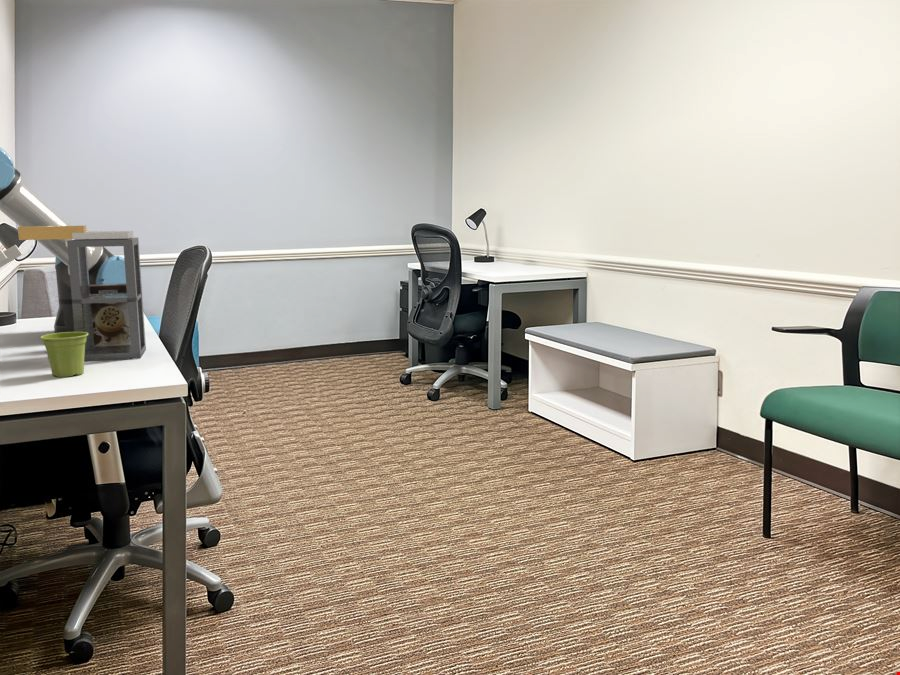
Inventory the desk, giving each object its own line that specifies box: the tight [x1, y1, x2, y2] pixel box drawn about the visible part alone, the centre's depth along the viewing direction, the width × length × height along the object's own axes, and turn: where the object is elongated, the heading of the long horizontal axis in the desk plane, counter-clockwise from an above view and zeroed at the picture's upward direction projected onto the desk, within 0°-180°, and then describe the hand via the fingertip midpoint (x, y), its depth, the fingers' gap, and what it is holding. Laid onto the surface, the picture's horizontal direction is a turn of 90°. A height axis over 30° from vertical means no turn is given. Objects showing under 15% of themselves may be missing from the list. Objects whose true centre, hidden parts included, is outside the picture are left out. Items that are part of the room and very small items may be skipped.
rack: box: [66, 237, 147, 362], centre depth 199 cm, size 12×14×28 cm
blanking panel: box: [17, 225, 134, 241], centre depth 196 cm, size 10×24×3 cm, turn 104°
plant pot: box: [39, 332, 88, 378], centre depth 179 cm, size 9×9×9 cm
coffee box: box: [90, 284, 131, 346], centre depth 213 cm, size 9×6×16 cm
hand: (11, 251), depth 193 cm, fingers open, 13 cm apart
